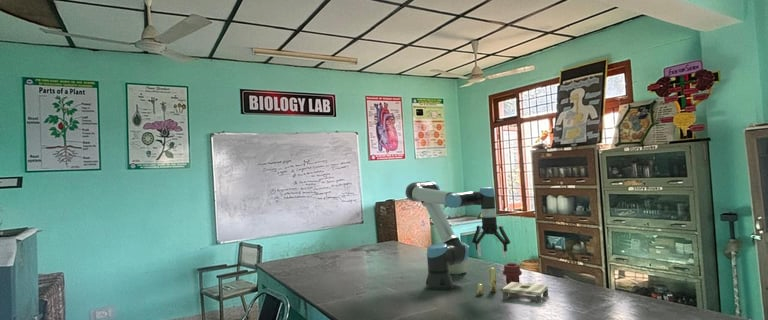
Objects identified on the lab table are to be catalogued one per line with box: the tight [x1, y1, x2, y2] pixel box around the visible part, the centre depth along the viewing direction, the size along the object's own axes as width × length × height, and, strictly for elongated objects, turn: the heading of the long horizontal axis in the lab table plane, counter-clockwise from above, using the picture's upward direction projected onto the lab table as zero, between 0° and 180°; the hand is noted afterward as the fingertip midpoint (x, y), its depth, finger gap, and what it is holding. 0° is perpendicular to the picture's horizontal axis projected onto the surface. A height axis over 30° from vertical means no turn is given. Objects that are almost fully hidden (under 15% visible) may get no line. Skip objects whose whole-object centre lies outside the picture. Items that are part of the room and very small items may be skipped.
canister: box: [449, 243, 470, 275], centre depth 270 cm, size 18×18×21 cm
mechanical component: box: [502, 262, 523, 286], centre depth 232 cm, size 12×10×10 cm
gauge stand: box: [501, 282, 549, 304], centre depth 211 cm, size 18×14×5 cm
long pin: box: [488, 267, 498, 293], centre depth 225 cm, size 3×3×12 cm
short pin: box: [476, 283, 484, 296], centre depth 220 cm, size 3×3×5 cm
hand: (491, 256), depth 225 cm, fingers open, 13 cm apart
